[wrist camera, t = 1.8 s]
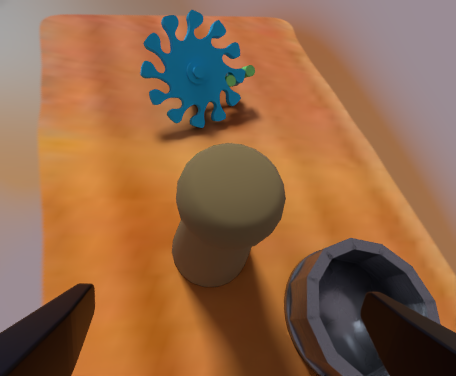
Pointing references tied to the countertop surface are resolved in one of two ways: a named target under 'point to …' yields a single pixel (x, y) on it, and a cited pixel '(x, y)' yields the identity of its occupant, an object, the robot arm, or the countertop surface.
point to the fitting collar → (347, 304)
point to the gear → (194, 70)
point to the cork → (224, 211)
